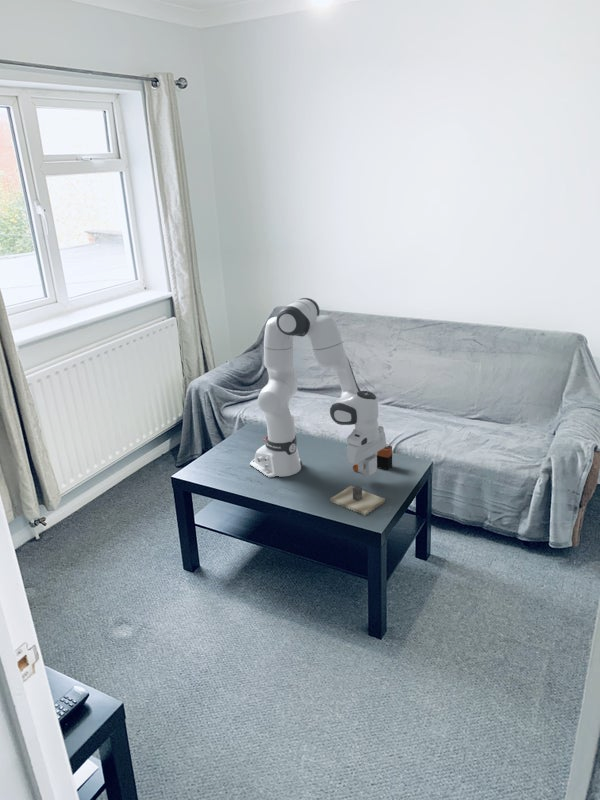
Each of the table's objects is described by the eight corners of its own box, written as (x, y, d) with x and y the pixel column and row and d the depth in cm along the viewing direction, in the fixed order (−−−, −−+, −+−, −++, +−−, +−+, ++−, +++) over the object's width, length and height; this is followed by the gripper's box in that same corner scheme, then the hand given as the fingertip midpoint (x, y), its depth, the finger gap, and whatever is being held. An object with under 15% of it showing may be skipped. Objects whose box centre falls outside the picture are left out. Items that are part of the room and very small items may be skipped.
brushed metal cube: (358, 471, 238) (357, 457, 235) (366, 466, 241) (366, 453, 239) (368, 475, 234) (368, 461, 232) (377, 470, 238) (376, 456, 236)
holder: (330, 501, 227) (329, 487, 225) (350, 488, 235) (350, 475, 233) (365, 515, 217) (364, 501, 215) (385, 501, 225) (385, 488, 223)
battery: (388, 470, 247) (387, 448, 244) (372, 467, 251) (372, 444, 247) (392, 466, 251) (392, 443, 247) (377, 462, 254) (377, 440, 251)
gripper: (376, 422, 241) (376, 453, 246) (343, 440, 227) (344, 473, 232) (389, 426, 237) (389, 458, 242) (356, 444, 223) (357, 478, 228)
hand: (367, 465), depth 237 cm, fingers closed on brushed metal cube, 5 cm apart
